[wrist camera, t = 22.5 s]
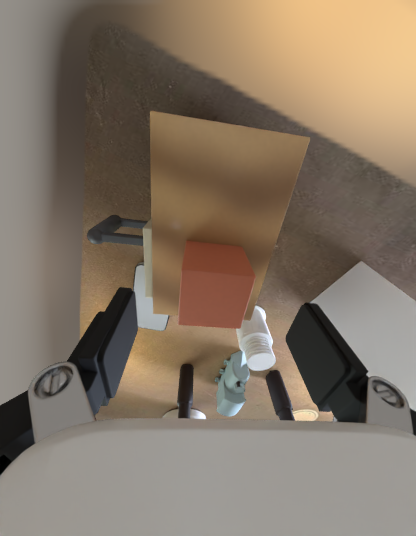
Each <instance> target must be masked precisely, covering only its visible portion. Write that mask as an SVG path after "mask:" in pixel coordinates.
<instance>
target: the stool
mask: <svg viewBox="0 0 416 536" xmlns="http://www.w3.org/2000/svg"><path fill="white" fill-rule="evenodd" d="M225 364H226V365H227V366H226V368H225V370H224V369H220V370H219V373H220V374H222V376H221V378H217V377H216V379H215V382H218V388H219V389H218V391H217V393H216V394H217V410H216V411H217V412H219V413H220V414H222V415H224V416H233V415H235V414H236V413H237V412H238V411H239V410H240V408H241V407H242V405H243V404H244V402H245V401H246V399H245V398H244V392H245V386H244V385H245V383H246V382H247V380H248V379H249V376H250V374H249V369H248V366H247V362H246V357H245V353H244V352H243V351H238V352H236V353H233V354H231V359H230V360H225V361H224V365H225ZM193 372H194V368H193V366H191V365H182V366H181V369H180V378H179V389H178V400H177V405H178V407H179V410H178V418H187V419H190V408H191V406H192V402H193ZM266 382H267V385H268V389H269V392H270V396H271V399H272V402H273V406H274V409H275V412H276V415H278V416H279V418H280V420H289V421H295V419H294V416H293V413H292V411H291V410H293V408H292V404H291V401H290V398H289V396H288V393H287V390H286V387H285V385H284V382H283V379H282V377H281V374H280V372H279V371H278V370H274V371H270V372H269V374H268V375H267V376H266Z"/></svg>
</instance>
